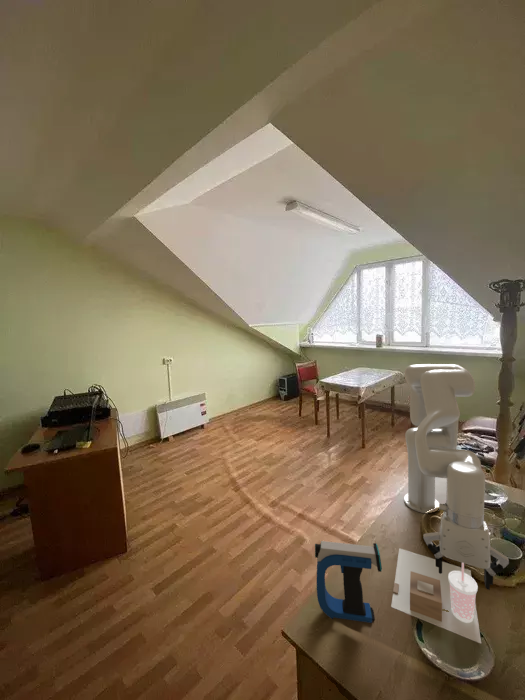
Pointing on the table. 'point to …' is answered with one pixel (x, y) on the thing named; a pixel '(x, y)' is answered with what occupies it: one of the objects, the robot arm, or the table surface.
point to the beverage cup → (462, 595)
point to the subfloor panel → (428, 568)
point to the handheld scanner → (346, 578)
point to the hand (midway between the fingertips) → (462, 576)
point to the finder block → (425, 596)
